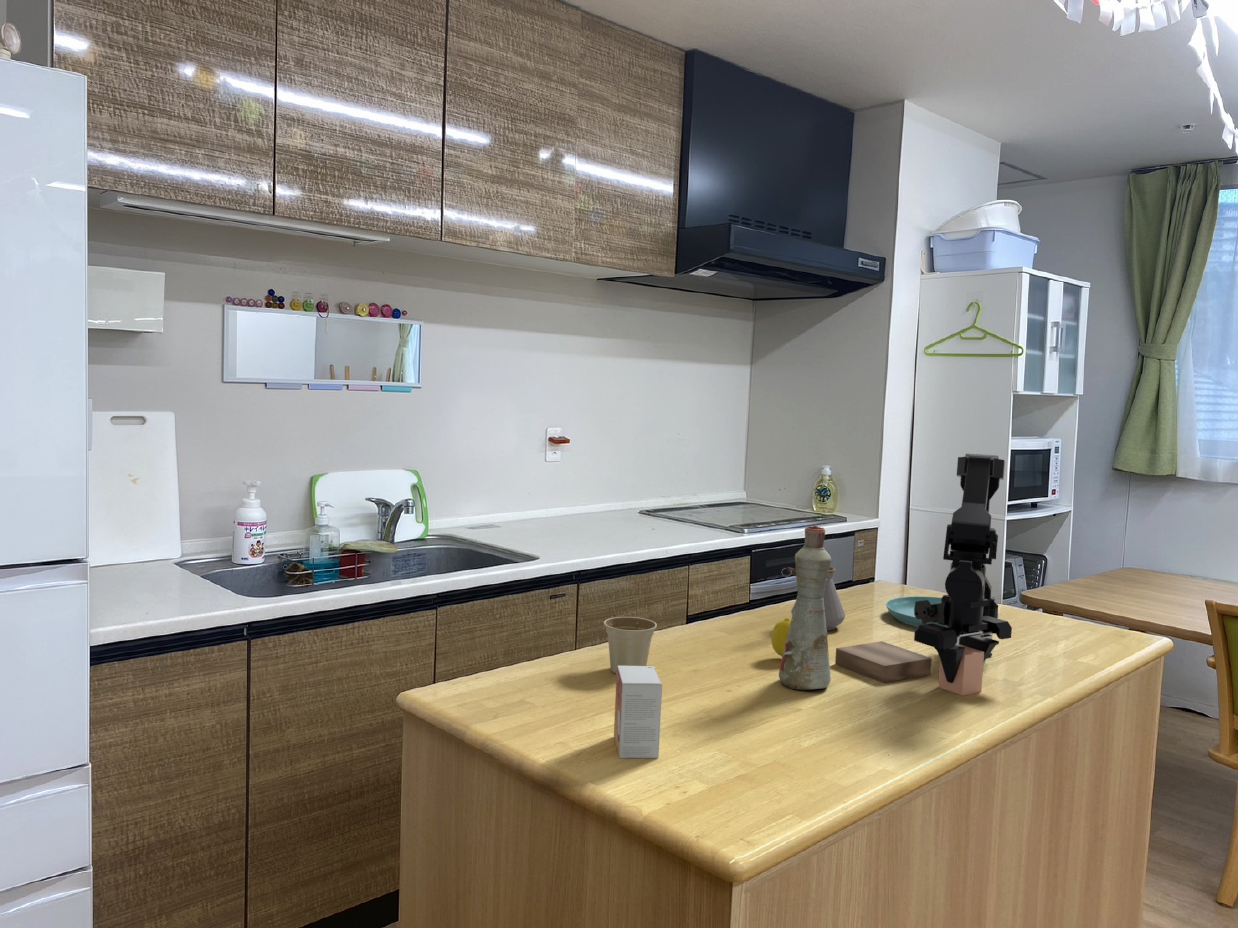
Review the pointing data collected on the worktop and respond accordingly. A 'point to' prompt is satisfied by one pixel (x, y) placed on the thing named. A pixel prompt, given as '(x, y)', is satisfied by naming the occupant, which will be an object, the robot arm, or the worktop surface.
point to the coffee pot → (828, 601)
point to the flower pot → (629, 641)
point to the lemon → (780, 635)
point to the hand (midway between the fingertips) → (960, 680)
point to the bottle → (808, 619)
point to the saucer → (909, 609)
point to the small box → (637, 712)
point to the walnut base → (883, 661)
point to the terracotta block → (965, 673)
